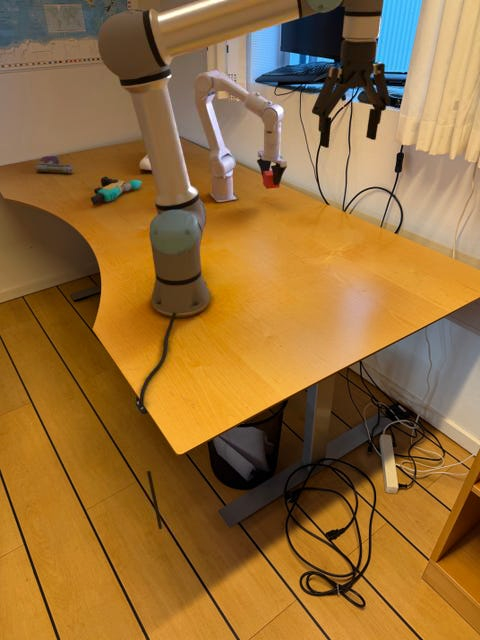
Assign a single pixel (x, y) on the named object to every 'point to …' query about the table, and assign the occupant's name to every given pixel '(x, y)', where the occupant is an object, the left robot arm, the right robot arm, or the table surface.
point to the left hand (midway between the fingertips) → (347, 142)
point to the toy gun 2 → (113, 189)
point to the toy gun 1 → (53, 165)
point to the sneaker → (145, 163)
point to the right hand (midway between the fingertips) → (271, 181)
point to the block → (269, 180)
